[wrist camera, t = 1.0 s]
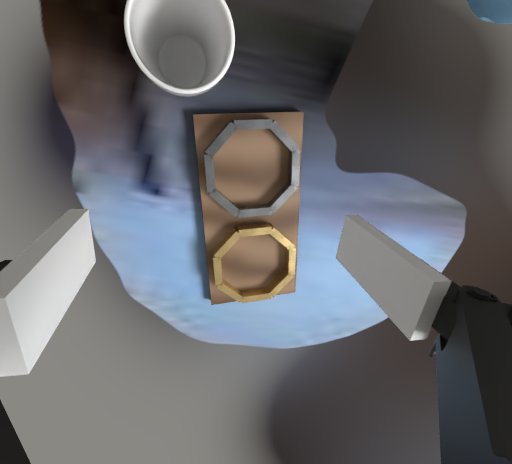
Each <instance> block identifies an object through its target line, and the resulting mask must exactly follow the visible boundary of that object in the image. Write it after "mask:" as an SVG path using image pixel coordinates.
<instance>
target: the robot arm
mask: <svg viewBox="0 0 512 464" xmlns="http://www.w3.org/2000/svg"><path fill="white" fill-rule="evenodd" d="M467 3H468V5H469V7H470V9H471V11H472V12H473V13H474V15H476V16H477V17H478V18H479V19H481V20H485V21H488V22H495V23H498V24H511V23H512V0H467ZM336 259H337V260H338V261H339V262H340V263H341V264H342V265H343V267H344V268H345V269H346V270H347V271H348V272H349V273H350V274H351V275H352V277H353V278H354V279H355V280H356V281H357V282H358V283H359V284H360V285H361V287H362V288H363V289H364V290H365V291H366V292H367V293H368V294H369V295H370V297H371V298H372V299H373V300H374V301H375V302H376V303H377V304H378V305H379V307H380V308H381V309H382V310H383V311H384V312H385V313H386V314H387V316H388V317H389V318H390V319H391V320H392V321H393V322H394V323H395V324H396V326H397V327H398V328H399V329H400V330H401V331H402V332H403V333H404V334H405V335H406V337H407V338H408V339H409V340H410V341H411V340H422V339H427V336H428V334H429V332H430V330H431V327H433V328H434V329H435V330H436V331H437V332H438V333H439V334H438V336H437V338H436V341H435V343H434V345H433V347H432V349H431V352H430V354H429V356H430V357H432V356H433V354H435V353H436V365H437V384H438V408H439V429H440V449H441V450H440V451H441V464H512V304H507V303H501V301H500V300H499V299H498V298H497V297H496V296H495V295H493V294H491V293H490V292H488V291H486V290H483V289H480V288H478V287H474V286H468V285H463V286H458V285H457V284H456V283H454V282H453V281H451V280H450V279H448V278H447V277H446V276H444V275H443V274H441V273H440V272H438V271H437V270H436V269H434V268H433V267H431V266H430V265H429V264H427V263H426V262H424V261H423V260H422V259H420V258H418V257H417V256H415V255H414V254H412V253H411V252H410V251H408V250H407V249H405V248H404V247H403V246H401V245H400V244H398V243H397V242H395V241H394V240H393V239H391V238H390V237H388V236H387V235H386V234H384V233H383V232H381V231H380V230H378V229H377V228H376V227H374V226H373V225H371V224H370V223H369V222H367V221H366V220H364V219H363V218H361V217H360V216H359V215H346V217H345V221H344V225H343V229H342V234H341V238H340V242H339V246H338V250H337V255H336ZM95 262H96V260H95V253H94V246H93V239H92V232H91V225H90V218H89V212H88V209H69V210H68V211H67V212H66V213H65V214H64V215H63V216H62V217H60V218H59V219H58V220H57V221H56V222H55V223H54V224H53V225H51V226H50V227H49V228H48V229H47V230H46V231H45V232H44V233H43V234H42V235H40V236H39V237H38V238H37V239H36V240H35V241H34V242H33V243H31V244H30V245H29V246H28V247H27V248H26V249H25V250H24V251H23V252H21V253H20V254H19V255H18V256H17V257H16V258H15V259H14V260H5V261H2V262H0V377H2V376H14V375H25V374H29V373H30V371H31V369H32V368H33V366H34V364H35V363H36V361H37V359H38V358H39V356H40V354H41V353H42V351H43V349H44V348H45V346H46V344H47V343H48V341H49V339H50V338H51V336H52V334H53V332H54V331H55V329H56V327H57V326H58V324H59V322H60V321H61V319H62V317H63V316H64V314H65V312H66V311H67V309H68V307H69V306H70V304H71V302H72V301H73V299H74V297H75V296H76V294H77V292H78V290H79V289H80V287H81V285H82V284H83V282H84V280H85V279H86V277H87V275H88V274H89V272H90V270H91V268H92V267H93V265H94V264H95ZM0 464H31V463H30V461H29V459H28V457H27V455H26V453H25V451H24V448H23V446H22V444H21V442H20V440H19V438H18V436H17V434H16V432H15V430H14V428H13V426H12V423H11V421H10V419H9V417H8V415H7V413H6V411H5V409H4V407H3V405H2V403H1V400H0Z"/></svg>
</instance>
